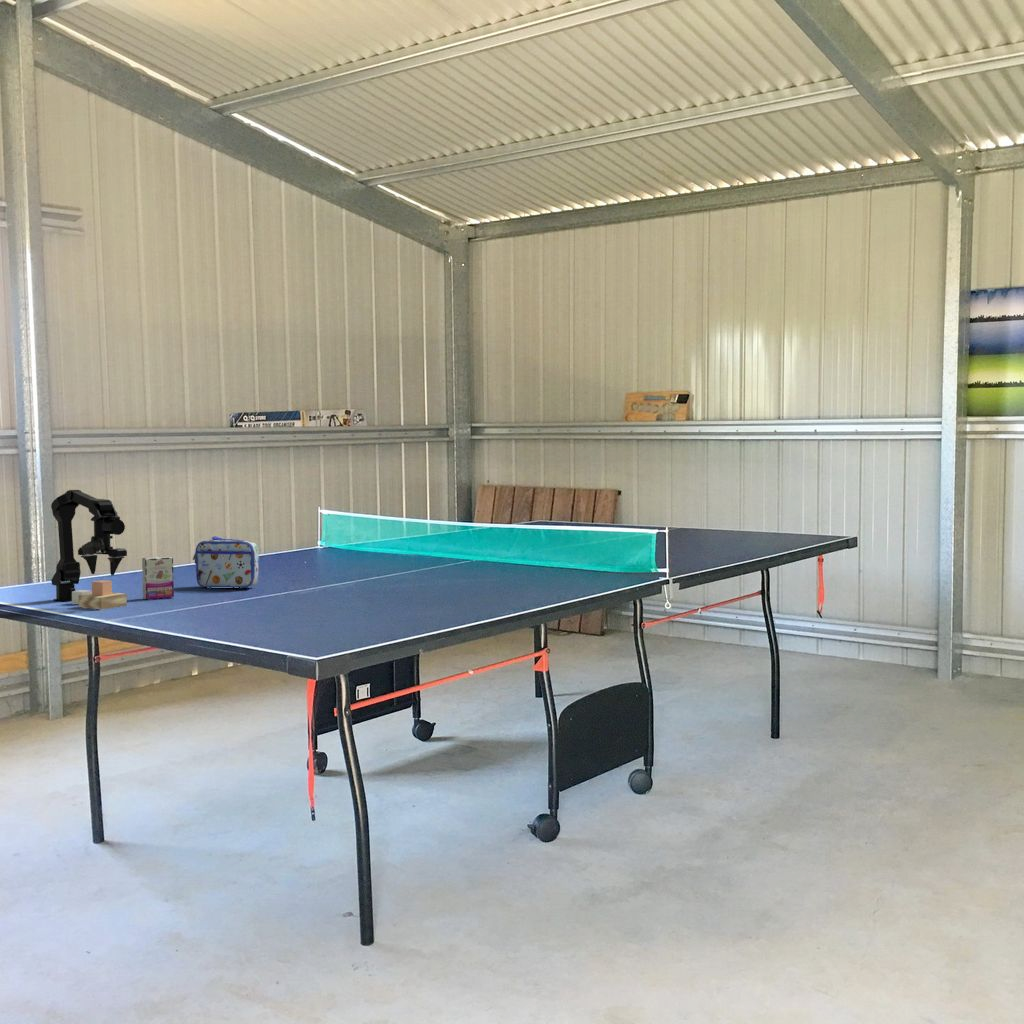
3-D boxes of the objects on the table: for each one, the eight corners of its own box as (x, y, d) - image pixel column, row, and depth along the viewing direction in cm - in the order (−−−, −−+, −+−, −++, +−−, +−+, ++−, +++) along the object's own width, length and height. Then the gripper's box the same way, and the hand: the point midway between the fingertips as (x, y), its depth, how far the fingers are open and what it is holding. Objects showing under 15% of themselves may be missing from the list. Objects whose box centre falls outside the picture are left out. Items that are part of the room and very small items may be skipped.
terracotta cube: (92, 594, 403) (91, 581, 402) (101, 593, 407) (101, 580, 407) (102, 595, 401) (102, 582, 400) (112, 594, 405) (111, 580, 405)
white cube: (71, 604, 409) (71, 591, 409) (81, 602, 414) (81, 589, 414) (82, 605, 407) (82, 592, 407) (91, 603, 412) (91, 590, 412)
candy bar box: (170, 596, 432) (169, 556, 431) (174, 598, 428) (173, 557, 427) (141, 598, 426) (141, 557, 425) (145, 600, 422) (145, 558, 421)
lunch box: (190, 588, 456) (189, 537, 454) (199, 585, 466) (199, 535, 465) (253, 590, 453) (252, 538, 452) (261, 587, 463) (261, 536, 462)
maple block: (78, 608, 402) (78, 595, 401) (104, 604, 412) (104, 591, 412) (101, 611, 396) (101, 597, 396) (126, 606, 407) (126, 593, 407)
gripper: (66, 533, 398) (67, 575, 399) (106, 536, 392) (106, 578, 393) (88, 531, 409) (89, 572, 410) (127, 533, 402) (128, 575, 403)
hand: (102, 574), depth 403 cm, fingers open, 9 cm apart
